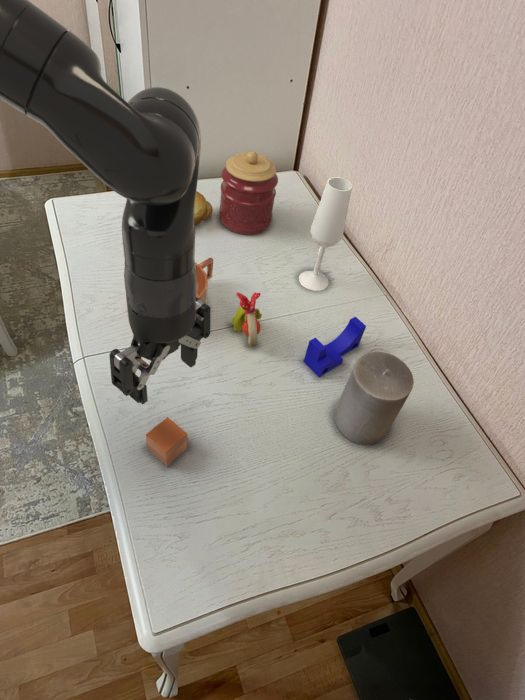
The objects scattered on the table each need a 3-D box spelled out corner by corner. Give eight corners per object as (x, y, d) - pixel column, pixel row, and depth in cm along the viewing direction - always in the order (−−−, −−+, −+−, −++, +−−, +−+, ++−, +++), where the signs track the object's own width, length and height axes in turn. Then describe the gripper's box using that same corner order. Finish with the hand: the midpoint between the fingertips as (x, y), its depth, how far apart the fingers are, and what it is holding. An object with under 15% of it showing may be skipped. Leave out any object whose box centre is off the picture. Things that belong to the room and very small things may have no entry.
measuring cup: (168, 346, 94) (167, 318, 89) (117, 306, 99) (113, 277, 94) (235, 298, 105) (239, 271, 99) (187, 264, 110) (187, 236, 104)
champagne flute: (312, 266, 115) (337, 170, 97) (334, 282, 112) (364, 186, 94) (292, 278, 111) (314, 180, 93) (315, 295, 109) (342, 198, 91)
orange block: (166, 466, 78) (165, 452, 75) (147, 448, 80) (145, 434, 77) (187, 448, 81) (187, 433, 78) (168, 431, 83) (167, 416, 79)
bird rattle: (266, 349, 100) (258, 307, 102) (279, 331, 89) (270, 284, 91) (235, 353, 98) (228, 309, 100) (245, 335, 88) (237, 287, 90)
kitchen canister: (277, 234, 121) (289, 167, 108) (224, 238, 118) (230, 168, 104) (263, 203, 129) (272, 137, 116) (213, 205, 125) (217, 137, 112)
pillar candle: (390, 408, 91) (419, 355, 80) (383, 453, 85) (414, 403, 74) (338, 392, 92) (360, 338, 81) (328, 435, 86) (350, 383, 75)
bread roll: (209, 207, 125) (210, 178, 119) (216, 231, 119) (218, 201, 113) (156, 209, 122) (155, 179, 116) (161, 234, 116) (160, 203, 110)
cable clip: (318, 377, 94) (325, 356, 89) (303, 361, 96) (309, 340, 91) (363, 351, 100) (371, 331, 95) (347, 337, 102) (355, 316, 97)
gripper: (184, 247, 60) (184, 337, 72) (84, 304, 52) (102, 395, 64) (230, 279, 57) (222, 367, 69) (132, 344, 49) (142, 430, 62)
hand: (164, 380), depth 67 cm, fingers open, 8 cm apart
